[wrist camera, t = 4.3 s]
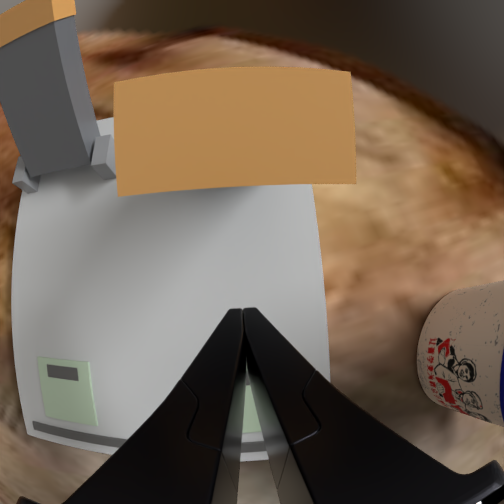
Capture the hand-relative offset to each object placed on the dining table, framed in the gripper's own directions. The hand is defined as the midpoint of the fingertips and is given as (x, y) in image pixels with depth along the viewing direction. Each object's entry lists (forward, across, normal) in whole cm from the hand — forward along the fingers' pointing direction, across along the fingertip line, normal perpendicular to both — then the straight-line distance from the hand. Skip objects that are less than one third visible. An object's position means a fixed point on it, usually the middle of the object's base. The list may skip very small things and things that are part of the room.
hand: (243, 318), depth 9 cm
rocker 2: (+11, 0, +2) cm, 12 cm away
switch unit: (+8, -6, -4) cm, 10 cm away
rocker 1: (+11, -11, +2) cm, 16 cm away
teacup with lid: (+2, +16, -10) cm, 19 cm away
